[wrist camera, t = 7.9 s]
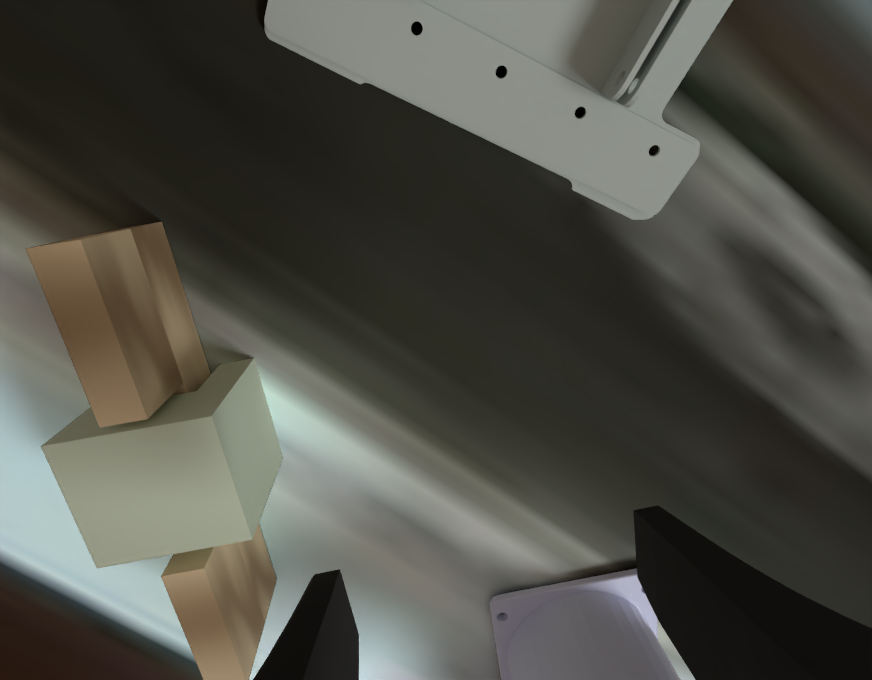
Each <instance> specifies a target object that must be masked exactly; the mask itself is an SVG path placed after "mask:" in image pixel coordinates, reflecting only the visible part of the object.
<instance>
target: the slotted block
mask: <svg viewBox="0 0 872 680" xmlns="http://www.w3.org/2000/svg"><path fill="white" fill-rule="evenodd" d="M41 448H42V450H43V452H44V454H45V457H46V459H47V461H48V463H49V465H50V467H51V470H52V472H53V474H54V476H55V478H56V480H57V483H58V485H59V487H60V489H61V491H62V493H63V496H64V498H65V500H66V502H67V504H68V507H69V509H70V511H71V513H72V515H73V517H74V520H75V522H76V524H77V526H78V528H79V530H80V533H81V535H82V537H83V539H84V541H85V543H86V546H87V548H88V550H89V552H90V554H91V556H92V559H93V561H94V563H95V565H96V567H97V568H102V567H107V566H112V565H118V564H123V563H129V562H134V561H139V560H145V559H150V558H156V557H161V556H167V555H172V554H177V553H183V552H188V551H194V550H199V549H204V548H210V547H215V546H221V545H226V544H232V543H237V542H242V541H248V540H252V539H253V537H254V534H255V531H256V529H257V526H258V523H259V521H260V518H261V515H262V513H263V510H264V507H265V505H266V502H267V499H268V497H269V494H270V491H271V489H272V486H273V483H274V481H275V478H276V475H277V473H278V470H279V467H280V465H281V462H282V459H283V456H282V453H281V449H280V446H279V442H278V439H277V435H276V432H275V428H274V425H273V421H272V418H271V415H270V411H269V408H268V404H267V401H266V397H265V394H264V390H263V387H262V383H261V380H260V376H259V373H258V370H257V366H256V363H255V359H254V358H252V359H246V360H240V361H234V362H228V363H223V364H220V365H219V366H218V368H217V369H216V370H215V371H214V372H213V373H212V374H211V375H210V377H209V378H208V379H207V380H206V381H205V382H204V383H203V384H202V386H201V387H200V388H199V389H198V390H197V391H194V392H188V393H183V394H177V395H171V396H170V397H169V398H168V399H167V400H166V401H165V402H164V403H163V404H162V405H161V406H160V407H159V408H158V409H157V410H156V411H155V412H154V413H153V414H152V415H151V416H150V417H149V418H148V419H146V420H140V421H135V422H129V423H123V424H118V425H112V426H106V427H99V425H98V423H97V420H96V418H95V415H94V413H93V410H92V408H91V407H90V408H89V409H88V410H87V411H85V412H84V413H83V414H81V415H80V416H79V417H78V418H76V419H75V420H74V421H73V422H71V423H70V424H69V425H67V426H66V427H65V428H64V429H62V430H61V431H60V432H59V433H57V434H56V435H55V436H53V437H52V438H51V439H50V440H48V441H47V442H46V443H45V444H43V445H42V446H41Z"/></svg>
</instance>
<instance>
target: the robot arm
mask: <svg viewBox="0 0 872 680" xmlns="http://www.w3.org/2000/svg"><path fill="white" fill-rule="evenodd" d="M634 527H635V545H636V562H637V568H636V569H631V570H626V571H620V572H615V573H610V574H605V575H599V576H594V577H589V578H584V579H578V580H573V581H568V582H563V583H557V584H552V585H547V586H542V587H536V588H531V589H526V590H521V591H515V592H510V593H505V594H500V595H496V596H494V597H493V598H492V599H491V600H490V604H489V605H490V612H491V618H492V625H493V631H494V638H495V644H496V650H497V657H498V663H499V670H500V676H501V680H680V678H679V676H678V675H677V673H676V671H675V669H674V668H673V666H672V664H671V662H670V661H669V659H668V657H667V655H666V654H665V652H664V650H663V648H662V647H661V645H660V643H659V641H658V634H657V619H658V620H659V622H660V624H661V625H662V627H663V629H664V630H665V632H666V633H667V635H668V637H669V638H670V640H671V641H672V643H673V644H674V646H675V648H676V649H677V651H678V652H679V654H680V656H681V657H682V659H683V660H684V662H685V663H686V665H687V667H688V668H689V670H690V671H691V673H692V674H693V676H694V678H695V679H696V680H872V628H869V627H867V626H865V625H863V624H860V623H858V622H856V621H854V620H852V619H849V618H847V617H845V616H843V615H841V614H839V613H837V612H835V611H833V610H831V609H829V608H827V607H825V606H823V605H821V604H819V603H817V602H815V601H813V600H811V599H809V598H807V597H805V596H803V595H801V594H799V593H797V592H795V591H793V590H792V589H790V588H788V587H786V586H784V585H783V584H781V583H779V582H777V581H776V580H774V579H772V578H770V577H769V576H767V575H765V574H763V573H762V572H760V571H758V570H756V569H755V568H753V567H751V566H750V565H748V564H746V563H745V562H743V561H742V560H740V559H738V558H737V557H735V556H734V555H732V554H730V553H729V552H727V551H726V550H724V549H723V548H721V547H719V546H718V545H716V544H715V543H713V542H712V541H710V540H709V539H707V538H706V537H704V536H703V535H701V534H700V533H698V532H697V531H695V530H694V529H692V528H691V527H689V526H688V525H686V524H685V523H683V522H682V521H680V520H679V519H677V518H676V517H675V516H673V515H672V514H670V513H669V512H667V511H666V510H664V509H663V508H661V507H660V506H653V507H648V508H643V509H638V510H634ZM500 613H504V614H500ZM253 680H359V634H358V630H357V627H356V623H355V620H354V617H353V613H352V610H351V606H350V603H349V599H348V596H347V592H346V589H345V586H344V582H343V579H342V575H341V572H340V569H339V570H334V571H329V572H325V573H320V574H315V575H314V576H313V577H312V579H311V581H310V582H309V584H308V586H307V588H306V590H305V592H304V594H303V596H302V598H301V599H300V601H299V603H298V605H297V607H296V609H295V610H294V612H293V614H292V616H291V618H290V619H289V621H288V623H287V625H286V627H285V628H284V630H283V632H282V633H281V635H280V637H279V639H278V640H277V642H276V644H275V645H274V647H273V649H272V650H271V652H270V654H269V656H268V657H267V659H266V660H265V662H264V664H263V665H262V667H261V668H260V670H259V671H258V673H257V674H256V676H255V678H254V679H253Z"/></svg>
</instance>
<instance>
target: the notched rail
mask: <svg viewBox="0 0 872 680" xmlns="http://www.w3.org/2000/svg"><path fill="white" fill-rule="evenodd" d="M26 251H27V253H28V255H29V258H30V260H31V263H32V265H33V268H34V270H35V272H36V275H37V277H38V280H39V282H40V284H41V287H42V289H43V292H44V294H45V297H46V299H47V301H48V304H49V306H50V309H51V311H52V314H53V316H54V318H55V321H56V323H57V326H58V328H59V331H60V333H61V335H62V338H63V340H64V343H65V345H66V347H67V350H68V352H69V355H70V357H71V360H72V362H73V364H74V367H75V369H76V372H77V374H78V377H79V379H80V381H81V384H82V386H83V389H84V391H85V394H86V396H87V398H88V401H89V403H90V406H91V408H92V410H93V413H94V415H95V418H96V420H97V423H98V425H99V427H106V426H112V425H118V424H123V423H129V422H135V421H140V420H146V419H148V418H149V417H150V416H151V415H152V414H153V413H154V412H155V411H156V410H157V409H158V408H159V407H160V406H161V405H162V404H163V403H164V402H165V401H166V400H167V399H168V398H169V397H170V396H171V395H177V394H183V393H188V392H194V391H197V390H198V389H199V388H200V387H201V386H202V384H203V383H204V382H205V381H206V380H207V379H208V378H209V377H210V375H211V373H210V370H209V367H208V364H207V360H206V357H205V354H204V351H203V348H202V345H201V342H200V339H199V336H198V332H197V329H196V326H195V323H194V320H193V317H192V314H191V311H190V308H189V304H188V301H187V298H186V295H185V292H184V289H183V286H182V283H181V280H180V276H179V273H178V270H177V267H176V264H175V261H174V258H173V255H172V252H171V249H170V245H169V242H168V239H167V236H166V233H165V230H164V227H163V224H162V222H157V223H151V224H145V225H139V226H133V227H127V228H121V229H116V230H112V231H107V232H102V233H97V234H93V235H88V236H83V237H78V238H74V239H69V240H64V241H59V242H55V243H50V244H45V245H40V246H36V247H31V248H26ZM161 578H162V580H163V582H164V585H165V587H166V590H167V592H168V595H169V597H170V599H171V602H172V604H173V607H174V609H175V612H176V614H177V616H178V619H179V621H180V624H181V626H182V629H183V631H184V633H185V636H186V638H187V641H188V643H189V645H190V648H191V650H192V653H193V655H194V658H195V660H196V662H197V665H198V667H199V670H200V672H201V675H202V677H203V679H204V680H249V677H250V674H251V670H252V667H253V663H254V660H255V656H256V652H257V649H258V645H259V642H260V638H261V634H262V631H263V627H264V624H265V620H266V617H267V613H268V609H269V606H270V602H271V599H272V595H273V592H274V588H275V584H276V581H277V578H276V575H275V572H274V569H273V566H272V563H271V560H270V556H269V553H268V550H267V547H266V544H265V541H264V538H263V535H262V532H261V528H260V525H259V523H258V526H257V529H256V531H255V534H254V537H253V539H252V540H248V541H242V542H237V543H232V544H226V545H221V546H215V547H210V548H204V549H199V550H194V551H188V552H183V553H177V554H173V556H172V558H171V560H170V562H169V563H168V565H167V567H166V569H165V570H164V572H163V574H162V576H161Z"/></svg>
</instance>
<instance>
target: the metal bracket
mask: <svg viewBox="0 0 872 680" xmlns="http://www.w3.org/2000/svg"><path fill="white" fill-rule="evenodd" d="M732 1H733V0H268V3H267V8H266V13H265V17H264V23H265V33H266V35H267V37H268V38H269V39H270V40H272V41H274V42H276V43H278V44H280V45H282V46H284V47H286V48H288V49H290V50H292V51H294V52H296V53H298V54H300V55H302V56H304V57H306V58H308V59H310V60H312V61H314V62H316V63H318V64H320V65H322V66H324V67H326V68H328V69H330V70H332V71H334V72H336V73H338V74H340V75H342V76H344V77H346V78H348V79H351V80H353V81H355V82H357V83H359V84H362V83H364V82H365V83H370V84H372V85H374V86H376V87H378V88H380V89H383V90H385V91H387V92H389V93H391V94H393V95H395V96H397V97H399V98H401V99H403V100H405V101H407V102H409V103H412V104H414V105H416V106H418V107H420V108H422V109H424V110H426V111H428V112H430V113H432V114H434V115H436V116H438V117H441V118H443V119H445V120H447V121H449V122H451V123H453V124H455V125H457V126H459V127H461V128H463V129H465V130H467V131H470V132H472V133H474V134H476V135H478V136H480V137H482V138H484V139H486V140H488V141H490V142H492V143H494V144H496V145H499V146H501V147H503V148H505V149H507V150H509V151H511V152H513V153H515V154H517V155H519V156H521V157H523V158H525V159H528V160H530V161H532V162H534V163H536V164H538V165H540V166H542V167H544V168H546V169H548V170H550V171H552V172H554V173H557V174H559V175H561V176H563V177H565V178H567V179H568V180H569V181H571V184H572V190H574V191H576V192H578V193H580V194H582V195H584V196H586V197H588V198H590V199H592V200H594V201H596V202H598V203H600V204H602V205H604V206H606V207H608V208H610V209H612V210H614V211H616V212H618V213H620V214H622V215H624V216H626V217H628V218H630V219H632V220H643V219H649V218H651V217H653V216H654V215H655V214H657V213H658V212H659V211H660V210H661V209H662V207H663V206H664V204H665V203H666V202H667V200H668V199H669V197H670V196H671V194H672V193H673V192H674V190H675V189H676V187H677V186H678V185H679V183H680V182H681V180H682V179H683V177H684V176H685V175H686V173H687V172H688V170H689V169H690V168H691V166H692V165H693V163H694V162H695V161H696V159H697V158H698V155H699V149H700V143H699V142H698V141H697V140H696V139H695V138H693V137H691V136H689V135H688V134H686V133H684V132H682V131H680V130H678V129H676V128H674V127H672V126H671V125H669V124H667V123H665V121H664V120H663V118H662V112H663V110H664V107H665V106H666V104H667V103H668V101H669V100H670V98H671V96H672V95H673V93H674V92H675V90H676V89H677V87H678V86H679V84H680V82H681V81H682V79H683V78H684V76H685V75H686V73H687V71H688V70H689V68H690V67H691V65H692V64H693V62H694V60H695V59H696V57H697V56H698V54H699V53H700V51H701V49H702V48H703V46H704V45H705V43H706V42H707V40H708V38H709V37H710V35H711V34H712V32H713V31H714V29H715V28H716V26H717V24H718V23H719V21H720V20H721V18H722V17H723V15H724V13H725V12H726V10H727V9H728V7H729V6H730V4H731V2H732ZM416 21H417V22H420V23H421V24H422V27H423V31H422V33H421V34H420V35H414V34H413V33H412V30H411V25H412V24H413V22H416ZM499 66H505V67H506V69H507V73H506V75H505V77H503V78H498V77H497V76H496V69H497V68H498V67H499ZM578 107H584V108H585V114H584V115H583V116H582V117H581V118H576V117H575V110H576V109H577V108H578ZM654 145H657V146H658V152H657V153H656V154H654V155H649V149H650V148H651V147H652V146H654Z"/></svg>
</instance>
